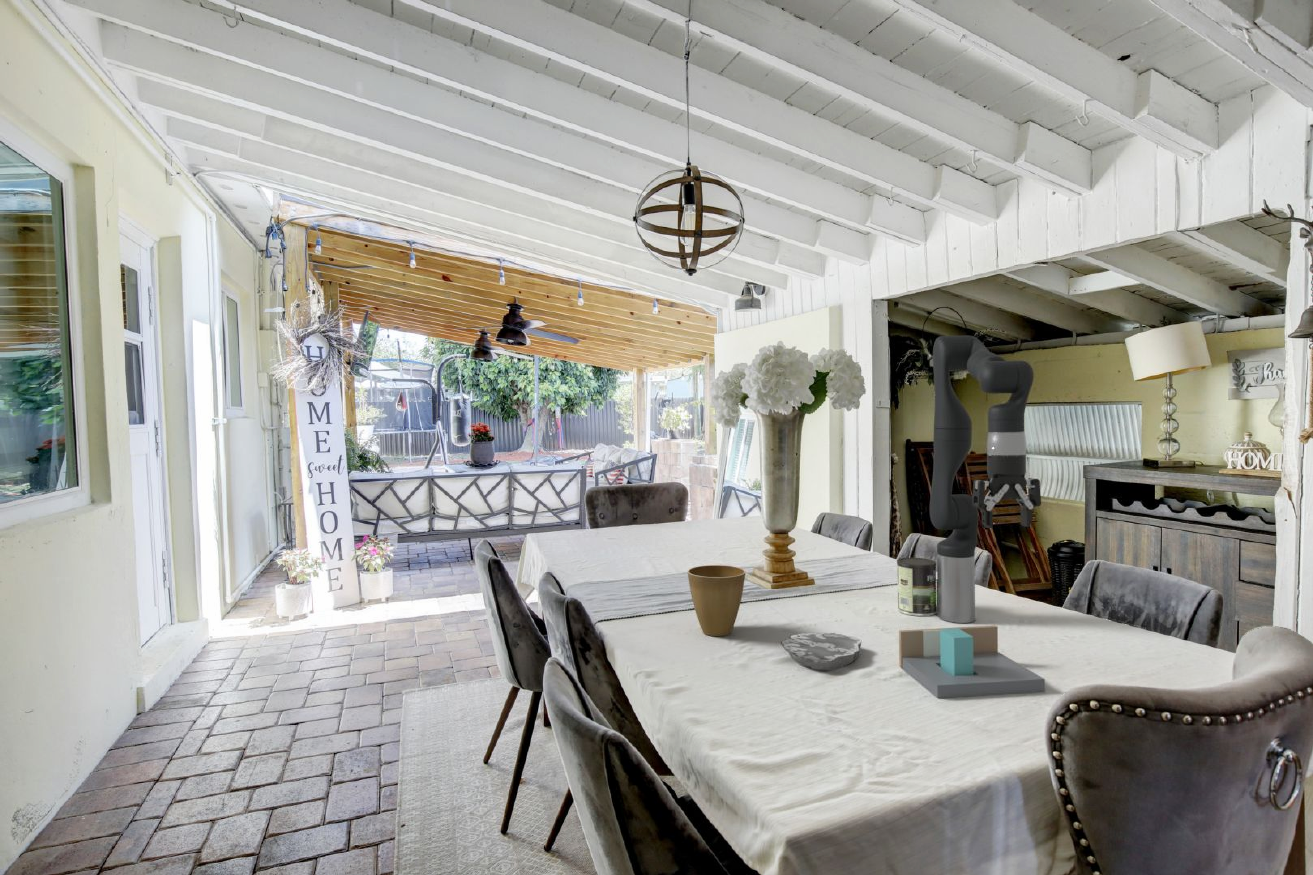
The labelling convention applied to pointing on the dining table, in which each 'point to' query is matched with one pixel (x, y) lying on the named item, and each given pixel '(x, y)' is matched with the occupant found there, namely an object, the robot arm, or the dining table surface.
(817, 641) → the brain slice
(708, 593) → the plant pot
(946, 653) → the teal block
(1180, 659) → the dining table surface
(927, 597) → the coffee can
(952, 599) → the robot arm
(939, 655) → the socket plate
